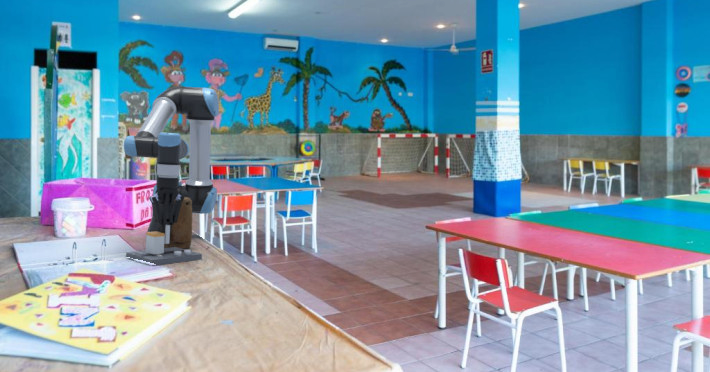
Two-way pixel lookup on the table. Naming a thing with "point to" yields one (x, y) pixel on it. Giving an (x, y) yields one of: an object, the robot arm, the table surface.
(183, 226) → the brown rounded upright piece
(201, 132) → the robot arm
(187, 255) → the console board
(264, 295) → the table surface
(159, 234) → the fader tab
